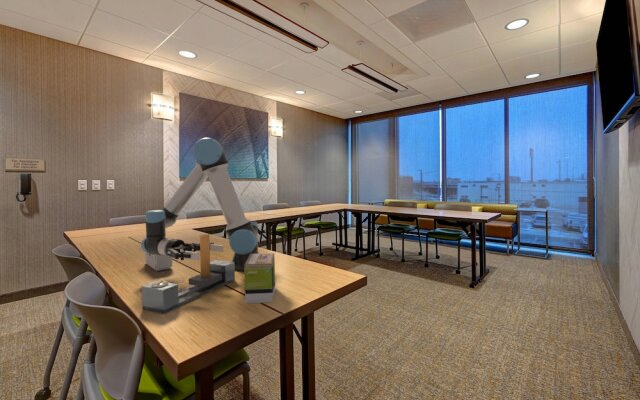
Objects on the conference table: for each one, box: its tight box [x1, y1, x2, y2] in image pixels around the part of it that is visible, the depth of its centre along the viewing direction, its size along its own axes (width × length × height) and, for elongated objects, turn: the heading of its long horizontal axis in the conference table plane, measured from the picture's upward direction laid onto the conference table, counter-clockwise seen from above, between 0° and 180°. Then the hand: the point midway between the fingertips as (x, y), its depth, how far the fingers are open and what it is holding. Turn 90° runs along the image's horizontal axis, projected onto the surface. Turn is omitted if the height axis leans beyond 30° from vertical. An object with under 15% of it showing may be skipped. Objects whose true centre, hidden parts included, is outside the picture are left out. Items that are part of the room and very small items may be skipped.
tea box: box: [243, 252, 276, 304], centre depth 112 cm, size 15×10×15 cm, turn 5°
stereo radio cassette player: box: [144, 252, 174, 272], centre depth 150 cm, size 21×8×20 cm, turn 45°
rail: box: [141, 259, 236, 315], centre depth 115 cm, size 36×10×9 cm, turn 158°
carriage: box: [188, 233, 222, 287], centre depth 120 cm, size 10×8×19 cm
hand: (211, 252), depth 118 cm, fingers open, 13 cm apart
